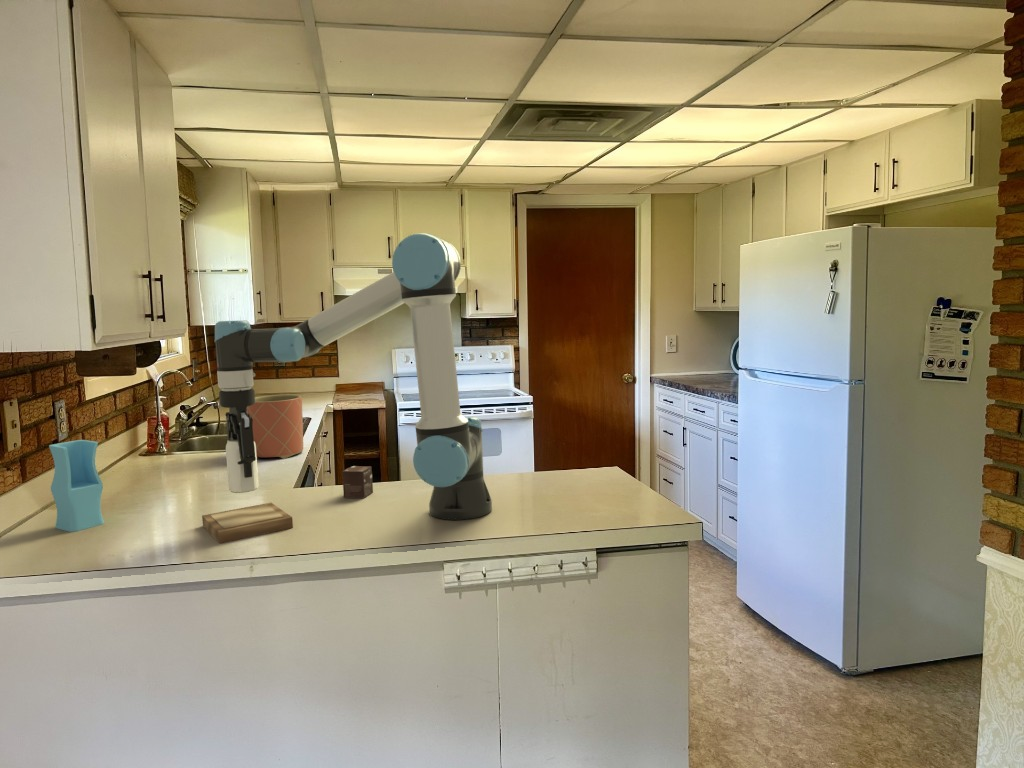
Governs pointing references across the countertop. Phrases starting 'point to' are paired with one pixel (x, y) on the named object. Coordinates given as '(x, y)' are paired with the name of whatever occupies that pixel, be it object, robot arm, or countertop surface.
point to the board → (246, 522)
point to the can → (237, 466)
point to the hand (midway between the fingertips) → (243, 487)
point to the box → (357, 482)
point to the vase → (76, 485)
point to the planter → (277, 425)
